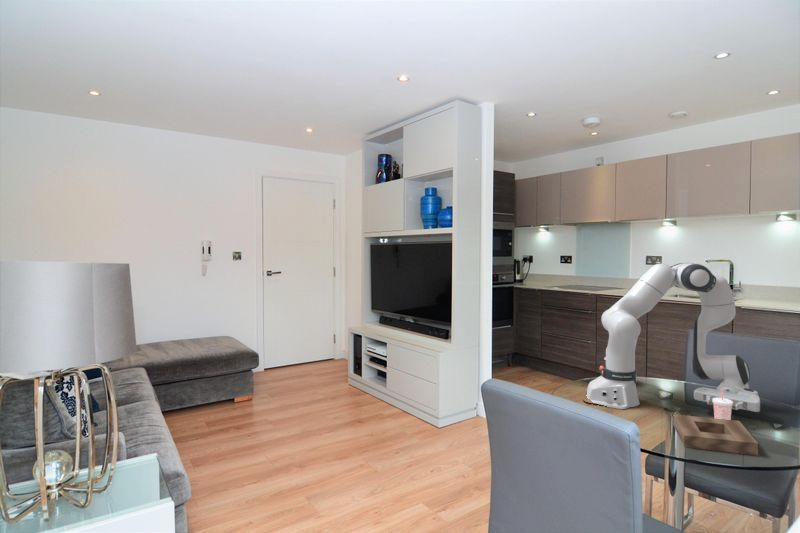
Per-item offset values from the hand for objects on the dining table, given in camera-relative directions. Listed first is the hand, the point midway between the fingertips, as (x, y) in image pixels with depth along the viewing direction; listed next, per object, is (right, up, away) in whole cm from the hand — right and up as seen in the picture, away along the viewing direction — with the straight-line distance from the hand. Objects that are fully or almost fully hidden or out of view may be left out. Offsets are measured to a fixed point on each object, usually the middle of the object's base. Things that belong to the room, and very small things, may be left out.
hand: (721, 405), depth 161 cm
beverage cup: (+1, -8, +1) cm, 8 cm away
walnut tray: (-11, -9, -10) cm, 17 cm away
